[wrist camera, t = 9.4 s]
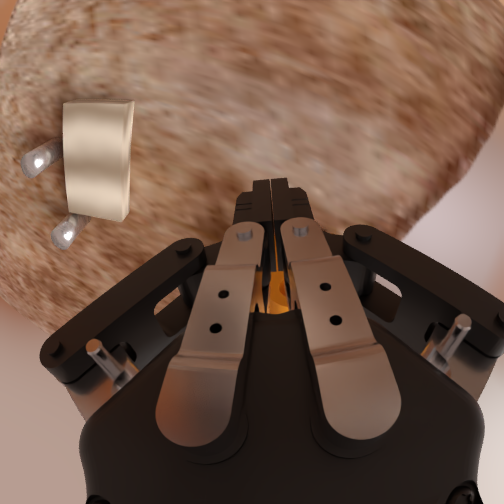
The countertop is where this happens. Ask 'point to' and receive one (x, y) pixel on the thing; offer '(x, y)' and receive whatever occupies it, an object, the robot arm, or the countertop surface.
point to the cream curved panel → (98, 156)
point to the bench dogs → (39, 162)
